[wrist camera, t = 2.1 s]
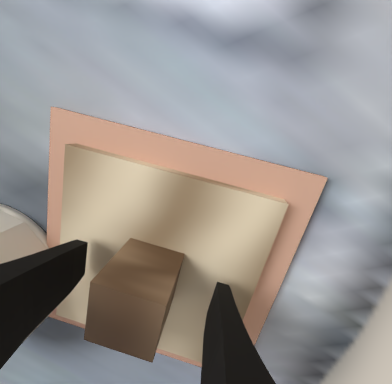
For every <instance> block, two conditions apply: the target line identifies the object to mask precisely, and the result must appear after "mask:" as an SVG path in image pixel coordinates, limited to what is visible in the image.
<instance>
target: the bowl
mask: <svg viewBox="0 0 392 384" xmlns="http://www.w3.org/2000/svg"><path fill="white" fill-rule="evenodd" d="M46 249H49V247H48V245H47V234H46V233H45V232H44V231H43V230H42V229H41V227H40V226H39V225H37V224H36V223H35V222H34V221H33V220H32V219H30V218H29V217H27V216H26V215H25V214H23V213H21V212H20V211H18V210H16V209H14V208H11V207H9V206H7V205H3V204H0V264H2V263H5V262H9V261H12V260H15V259H18V258H22V257H25V256H28V255H31V254H34V253H37V252H40V251H43V250H46ZM51 313H52V312H51ZM51 313H50V314H51ZM50 314H49V315H50ZM49 315H48V316H49ZM48 316H47V317H48ZM47 317H46V318H47ZM46 318H45V319H46ZM45 319H44V320H45ZM44 320H43V321H44ZM43 321H42V322H43ZM42 322H41V323H42ZM41 323H40V324H41ZM40 324H39V325H40ZM39 325H38V326H39ZM38 326H37V327H38ZM26 339H27V338H26ZM26 339H25V340H26ZM25 340H24V341H25ZM24 341H23V342H24Z"/></svg>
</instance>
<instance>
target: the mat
mask: <svg viewBox="0 0 392 384" xmlns="http://www.w3.org/2000/svg"><path fill="white" fill-rule="evenodd" d="M74 143H77V144H81V145H84V146H88V147H92V148H95V149H99V150H103V151H107V152H110V153H114V154H118V155H122V156H125V157H129V158H133V159H136V160H140V161H144V162H148V163H151V164H155V165H159V166H163V167H166V168H170V169H174V170H177V171H181V172H185V173H189V174H192V175H196V176H200V177H204V178H207V179H211V180H215V181H218V182H222V183H226V184H230V185H233V186H237V187H241V188H245V189H248V190H252V191H256V192H259V193H263V194H267V195H271V196H274V197H278V198H282V199H285V201H286V202H287V203H288V204H289V205H288V207H287V210H286V212H285V215H284V218H283V220H282V223H281V225H280V228H279V230H278V233H277V235H276V238H275V240H274V243H273V245H272V248H271V250H270V253H269V255H268V258H267V260H266V263H265V265H264V268H263V270H262V273H261V276H260V278H259V281H258V283H257V286H256V288H255V291H254V293H253V296H252V298H251V301H250V303H249V306H248V308H247V311H246V313H245V316H244V318H243V323H244V325H245V328H246V330H247V332H248V334H249V336H250V338H251V340H252V343H253V345H255V343H256V341H257V339H258V336H259V334H260V332H261V329H262V327H263V325H264V323H265V320H266V318H267V316H268V313H269V311H270V309H271V307H272V304H273V302H274V300H275V297H276V295H277V293H278V291H279V288H280V286H281V284H282V281H283V279H284V277H285V275H286V272H287V270H288V268H289V266H290V263H291V261H292V259H293V256H294V254H295V252H296V250H297V247H298V245H299V243H300V240H301V238H302V236H303V234H304V231H305V229H306V227H307V224H308V222H309V220H310V218H311V215H312V213H313V211H314V208H315V206H316V204H317V202H318V199H319V197H320V195H321V192H322V190H323V188H324V186H325V183H326V181H327V179H328V178H327V177H324V176H321V175H317V174H313V173H309V172H305V171H301V170H298V169H294V168H290V167H286V166H282V165H278V164H274V163H270V162H267V161H263V160H259V159H255V158H251V157H247V156H243V155H239V154H235V153H232V152H228V151H224V150H220V149H216V148H212V147H208V146H204V145H201V144H197V143H193V142H189V141H185V140H181V139H177V138H173V137H169V136H166V135H162V134H158V133H154V132H150V131H146V130H142V129H138V128H135V127H131V126H127V125H123V124H119V123H115V122H111V121H107V120H103V119H100V118H96V117H92V116H88V115H84V114H80V113H76V112H72V111H69V110H65V109H61V108H57V107H51V117H50V149H49V182H48V214H47V245H48V247H49V248H52V247H55V246H58V245H60V231H61V212H62V193H63V174H64V155H65V144H74ZM56 308H57V307H56ZM56 308H55V309H54V310H53V311H52V313H51V314H50V315H49V316H48V317H51V318H54V319H57V320H60V321H63V322H66V323H69V324H72V325H75V326H78V327H81V328H84V329H85V324H82V323H79V322H76V321H73V320H70V319H67V318H64V317H61V316H58V315H56ZM156 352H157V353H160V354H163V355H166V356H169V357H172V358H175V359H178V360H181V361H184V362H187V363H190V364H193V365H196V366H199V367H202V363H200V362H197V361H194V360H191V359H188V358H185V357H182V356H179V355H176V354H173V353H170V352H167V351H164V350H161V349H158V348H157V350H156Z"/></svg>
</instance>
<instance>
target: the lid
mask: <svg viewBox="0 0 392 384" xmlns="http://www.w3.org/2000/svg"><path fill="white" fill-rule="evenodd" d="M288 205H289V204H288V203H287V202H286V201H285V199H282V198H278V197H274V196H271V195H267V194H263V193H259V192H256V191H252V190H248V189H245V188H241V187H237V186H233V185H230V184H226V183H222V182H218V181H215V180H211V179H207V178H204V177H200V176H196V175H192V174H189V173H185V172H181V171H177V170H174V169H170V168H166V167H163V166H159V165H155V164H151V163H148V162H144V161H140V160H136V159H133V158H129V157H125V156H122V155H118V154H114V153H110V152H107V151H103V150H99V149H95V148H92V147H88V146H84V145H81V144H77V143H74V144H65V155H64V174H63V193H62V212H61V231H60V245H61V244H64V243H67V242H70V241H73V240H77V239H78V240H81V241H84V242H88V246H87V256H86V267H85V275H84V276H83V277H82V279H81V280H80V281H79V283H78V284H77V285H76V287H75V288H74V289H73V290H72V292H71V293H70V294H69V295H68V296H67V297H66V298H65V299H64V300H63V301H62V302H61V303H60V304H59V305H58V306H57V308H56V315H58V316H61V317H64V318H67V319H70V320H73V321H76V322H79V323H82V324H85V334H84V340H86V341H89V342H92V343H95V344H98V345H101V346H104V347H107V348H110V349H113V350H116V351H119V352H122V353H125V354H128V355H131V356H134V357H137V358H140V359H143V360H146V361H149V362H153V359H154V356H155V353H156V350H157V348H158V349H161V350H164V351H167V352H170V353H173V354H176V355H179V356H182V357H185V358H188V359H191V360H194V361H197V362H200V363H202V353H203V336H204V328H205V322H206V316H207V311H208V308H209V305H210V302H211V299H212V296H213V293H214V290H215V287H216V284H217V282H220V283H224V284H227V285H229V286H230V288H231V291H232V294H233V297H234V300H235V303H236V306H237V308H238V311H239V313H240V316H241V318H242V321H243V318H244V316H245V313H246V311H247V308H248V306H249V303H250V301H251V298H252V296H253V293H254V291H255V288H256V286H257V283H258V281H259V278H260V276H261V273H262V270H263V268H264V265H265V263H266V260H267V258H268V255H269V253H270V250H271V248H272V245H273V243H274V240H275V238H276V235H277V233H278V230H279V228H280V225H281V223H282V220H283V218H284V215H285V212H286V210H287V207H288Z"/></svg>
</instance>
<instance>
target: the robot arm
mask: <svg viewBox="0 0 392 384" xmlns="http://www.w3.org/2000/svg"><path fill="white" fill-rule="evenodd" d="M87 246H88V242H84V241H81V240H78V239H77V240H73V241H70V242H67V243H64V244H61V245H58V246H55V247H52V248H49V249H46V250H43V251H40V252H37V253H34V254H31V255H28V256H25V257H22V258H18V259H15V260H12V261H9V262H5V263H2V264H0V369H1V368H2V367H3V365H4V364H5V363H6V362H7V361H8V359H9V358H10V357H11V356H12V355H13V353H14V352H15V351H16V350H17V349H18V347H19V346H20V345H21V344H22V343H23V341H24V340H25V339H26V338H27V337H28V336H29V335H30V334H31V333H32V332H33V331H34V330H35V329H36V328H37V326H38V325H39V324H40V323H41V322H42V321H43V320H44V319H45V318H46V317H47V316H48V315H49V314H50V313H51V312H52V311H53V310H54V309H55V308H56V307H57V306H58V305H59V304H60V303H61V302H62V301H63V300H64V299H65V298H66V297H67V296H68V295H69V294H70V293H71V292H72V290H73V289H74V288H75V287H76V285H77V284H78V283H79V281H80V280H81V279H82V277H83V276H84V275H85V267H86V256H87ZM201 384H276V383H275V382H274V380H273V379H272V377H271V375H270V374H269V372H268V370H267V369H266V367H265V365H264V363H263V362H262V360H261V358H260V356H259V354H258V352H257V350H256V349H255V347H254V345H253V343H252V340H251V338H250V336H249V334H248V332H247V330H246V328H245V325H244V323H243V321H242V318H241V316H240V313H239V311H238V308H237V306H236V303H235V300H234V297H233V294H232V291H231V288H230V286H229V285H227V284H224V283H220V282H217V284H216V287H215V290H214V293H213V296H212V299H211V302H210V305H209V308H208V311H207V316H206V322H205V328H204V336H203V353H202V371H201Z"/></svg>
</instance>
